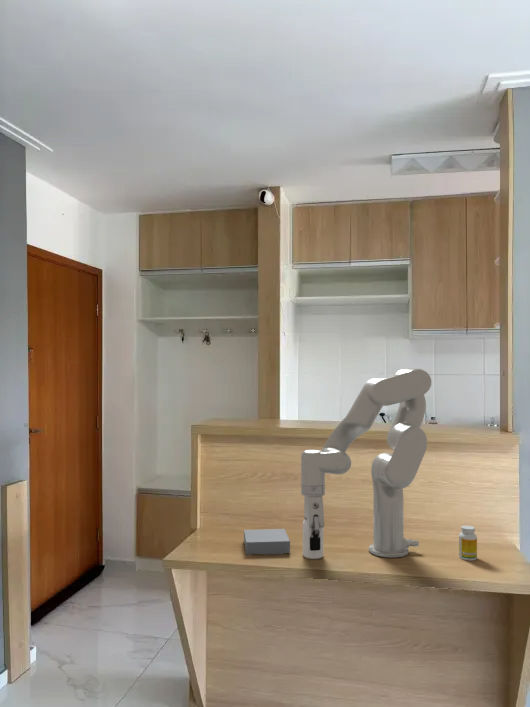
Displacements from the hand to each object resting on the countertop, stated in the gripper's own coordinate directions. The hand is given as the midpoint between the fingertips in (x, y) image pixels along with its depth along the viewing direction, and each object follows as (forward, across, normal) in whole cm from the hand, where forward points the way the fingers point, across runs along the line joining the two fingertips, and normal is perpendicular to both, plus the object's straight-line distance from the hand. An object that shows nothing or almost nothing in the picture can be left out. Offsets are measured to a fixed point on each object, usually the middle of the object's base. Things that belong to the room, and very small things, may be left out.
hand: (313, 546), depth 182 cm
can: (+3, 0, 0) cm, 3 cm away
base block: (+3, +10, +14) cm, 17 cm away
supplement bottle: (+3, -6, -48) cm, 49 cm away
